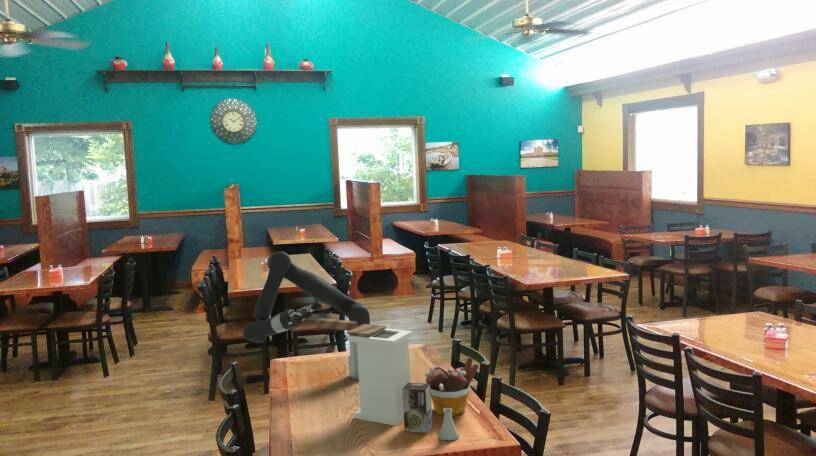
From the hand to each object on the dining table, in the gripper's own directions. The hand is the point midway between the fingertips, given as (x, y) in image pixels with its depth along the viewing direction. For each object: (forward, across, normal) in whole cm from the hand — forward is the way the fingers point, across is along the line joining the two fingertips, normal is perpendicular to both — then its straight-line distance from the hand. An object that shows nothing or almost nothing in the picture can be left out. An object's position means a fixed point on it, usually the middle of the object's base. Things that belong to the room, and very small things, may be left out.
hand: (316, 308), depth 262 cm
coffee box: (+29, +22, -51) cm, 63 cm away
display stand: (+13, +13, -46) cm, 49 cm away
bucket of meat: (+35, +3, -57) cm, 67 cm away
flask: (+41, +26, -55) cm, 73 cm away
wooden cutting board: (+12, +5, -11) cm, 17 cm away
